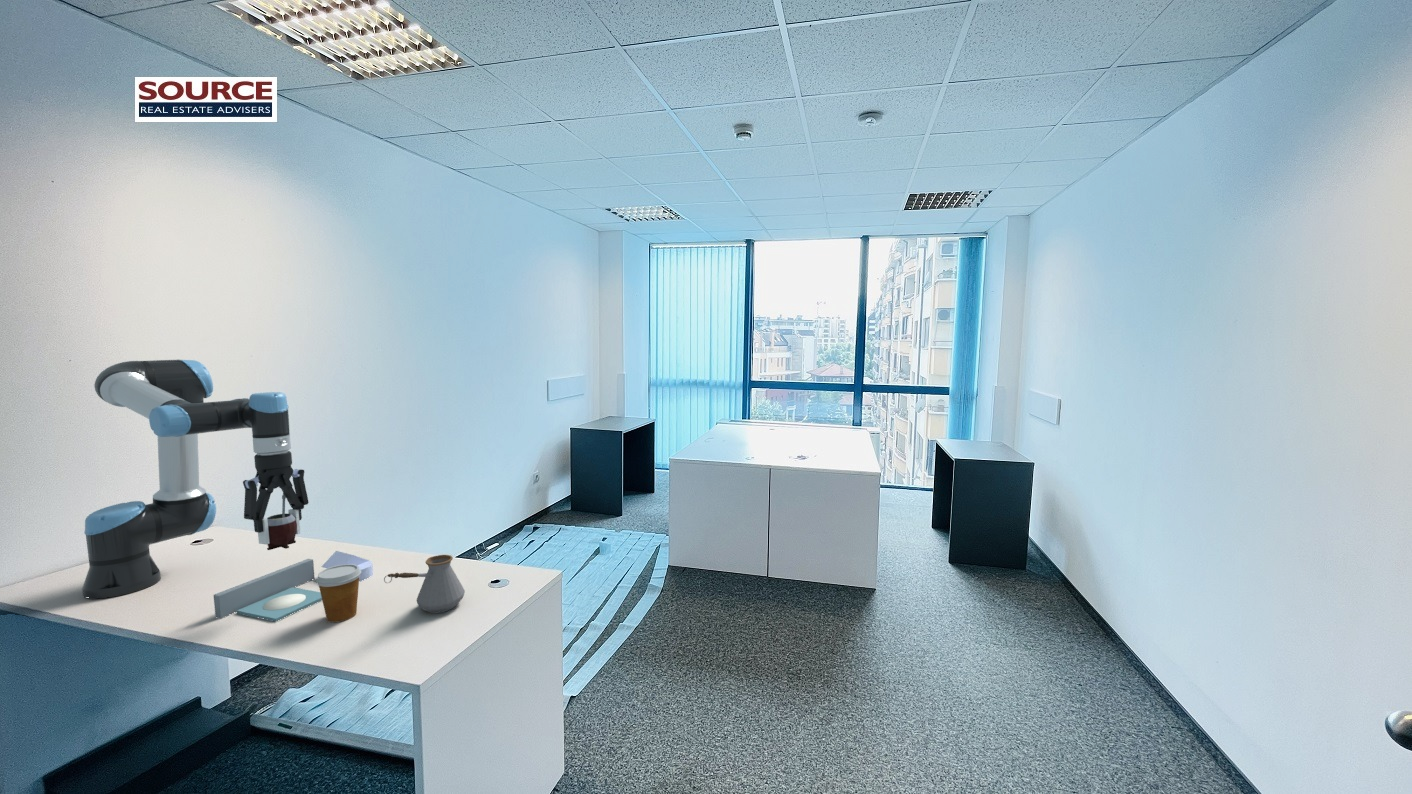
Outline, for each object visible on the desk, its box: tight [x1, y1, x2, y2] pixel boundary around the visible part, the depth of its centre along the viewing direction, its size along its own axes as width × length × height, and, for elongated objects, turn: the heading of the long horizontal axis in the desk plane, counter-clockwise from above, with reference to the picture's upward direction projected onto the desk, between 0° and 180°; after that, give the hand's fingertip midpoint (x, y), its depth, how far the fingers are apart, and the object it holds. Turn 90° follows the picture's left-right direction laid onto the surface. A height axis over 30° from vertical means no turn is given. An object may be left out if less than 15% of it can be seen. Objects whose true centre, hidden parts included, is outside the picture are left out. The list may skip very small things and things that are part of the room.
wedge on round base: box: [321, 550, 374, 582], centre depth 161 cm, size 9×7×13 cm
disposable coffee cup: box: [315, 564, 361, 623], centre depth 137 cm, size 10×10×12 cm
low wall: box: [212, 558, 316, 619], centre depth 147 cm, size 2×24×6 cm, turn 163°
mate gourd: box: [266, 492, 297, 551], centre depth 141 cm, size 8×8×15 cm
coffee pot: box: [383, 554, 466, 614], centre depth 137 cm, size 21×12×15 cm, turn 161°
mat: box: [236, 587, 322, 622], centre depth 143 cm, size 14×14×1 cm
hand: (280, 538), depth 141 cm, fingers closed on mate gourd, 7 cm apart
